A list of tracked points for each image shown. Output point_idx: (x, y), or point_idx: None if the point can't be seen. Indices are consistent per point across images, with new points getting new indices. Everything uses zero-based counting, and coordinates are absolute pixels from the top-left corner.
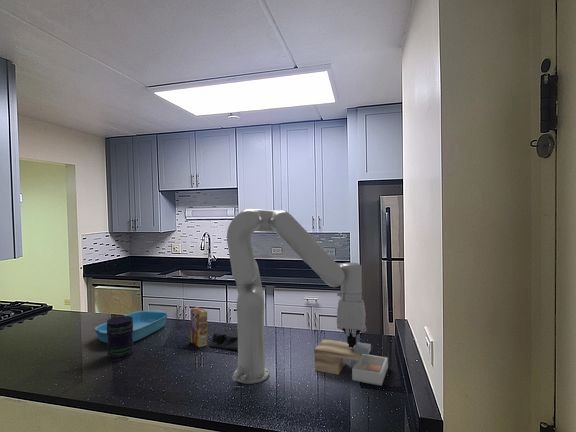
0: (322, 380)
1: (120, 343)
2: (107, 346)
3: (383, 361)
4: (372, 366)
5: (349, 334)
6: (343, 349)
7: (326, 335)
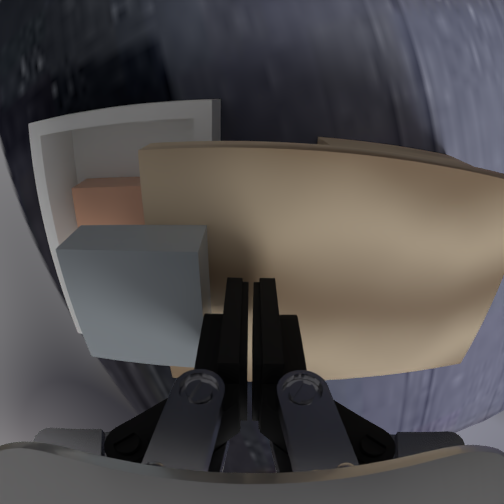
0: (387, 45)
1: None
2: None
3: None
4: None
5: (275, 399)
6: (325, 258)
7: None
